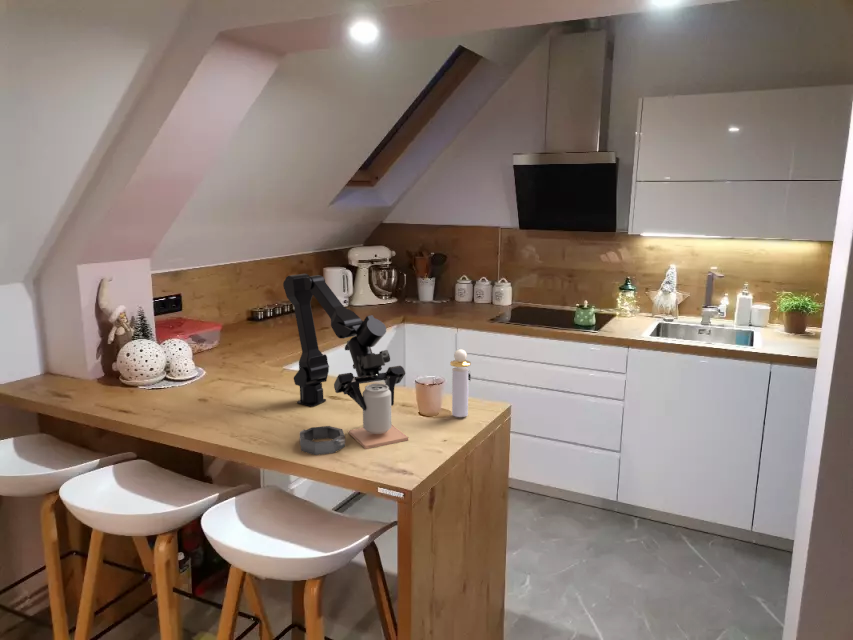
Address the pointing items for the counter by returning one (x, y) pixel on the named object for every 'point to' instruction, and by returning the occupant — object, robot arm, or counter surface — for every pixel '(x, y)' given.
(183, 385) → the counter surface
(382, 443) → the coaster
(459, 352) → the perfume bottle
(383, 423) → the can
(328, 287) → the robot arm
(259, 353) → the counter surface
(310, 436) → the collar
